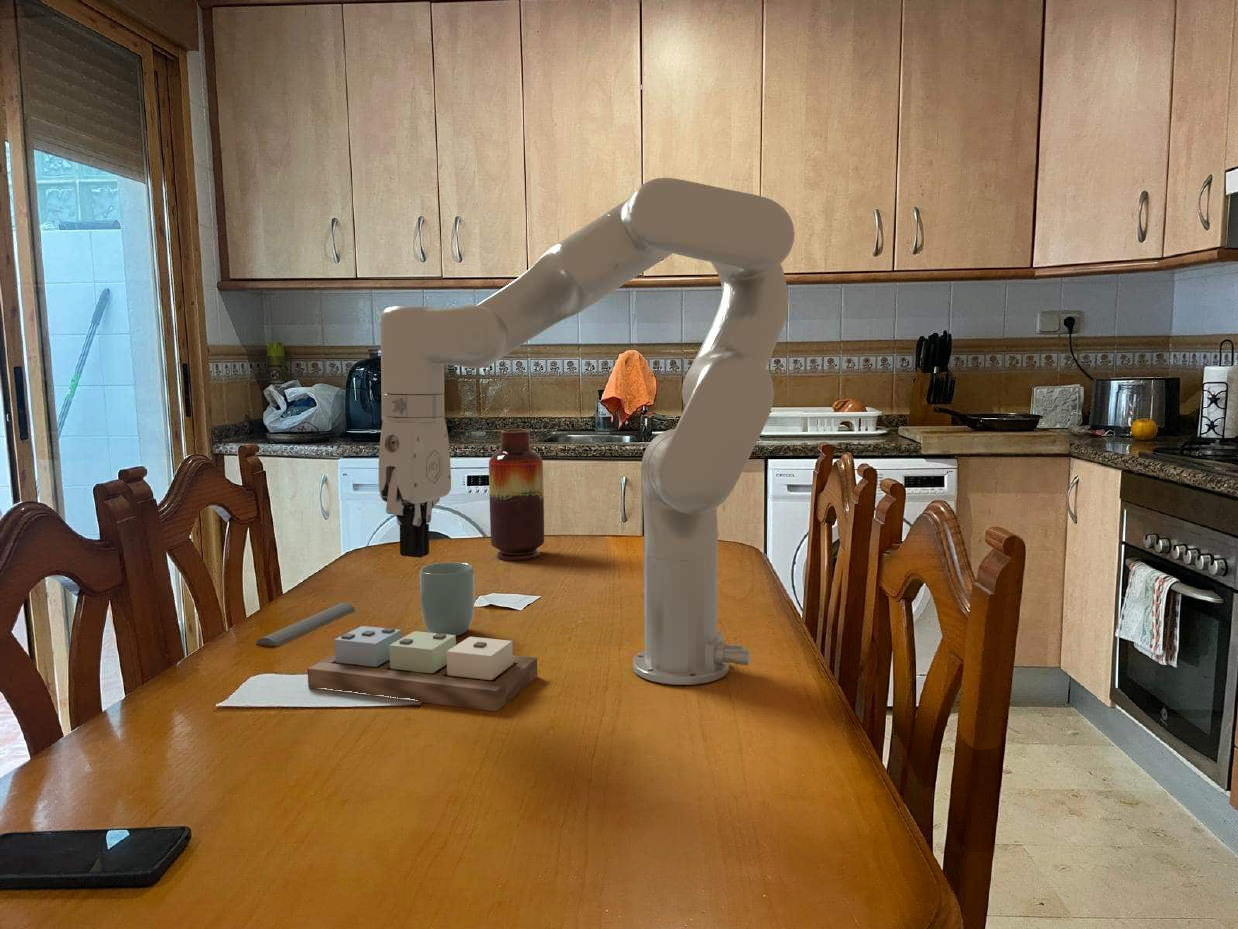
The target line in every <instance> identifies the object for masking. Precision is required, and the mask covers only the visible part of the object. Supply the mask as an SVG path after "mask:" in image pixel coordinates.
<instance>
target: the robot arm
mask: <svg viewBox="0 0 1238 929" xmlns="http://www.w3.org/2000/svg"><path fill="white" fill-rule="evenodd" d="M794 243H795V226H794V223H793V221H792V218H791V216H790V214H789V213H788V211H787V210H786V209H785V208H784V207H783V206H781V204H780V203H779V202H776V201H775V200H773V199H770V198H769V197H768V198H767V197H765V196H762V195H757V194H753V193H748V192H743V191H737V190H733V189H730V188H729V189H728V188H722V187H718V186H715V185H708V184H705V183H700V182H695V181H690V180H685V179H679V178H673V177H657V178H654V179H650V180H647V181H646V182H644V183H642V185H640V186H639V187H638V188H637V189H636V190H635V191H634V193H633V195H631V196H630V197H629V198H627V199H625V200H624V201H623V202H621V203H619V204H618V205H616V206H615V207H613V208H611V209H610V210H608V211H607V212H605V213H604V214H603V215H601V216H599V217H597V218H596V219H595V220H593V221H591V222H590V223H588V224H587V225H585V226H583V227H582V228H580V229H579V230H577V231H575V232H573V233H571V234H570V235H569V236H567V237H565V238H564V239H562V240H561V241H559V242H558V243H556V244H554V246H552V247H551V248H550V249H548V250H547V251H545V253H543V254H542V255H541V256H540V257H539V258H538V260H537V261H536V262H535V263H534V264H533V265H532V266H531V267H530V268H528V270H527V271H525V272H524V273H523V274H521V275H520V276H519V277H517V278H516V279H514V280H513V281H511V282H510V283H509V284H507V285H506V286H504V287H503V288H501V289H500V290H499V291H497V292H495V293H494V294H492V295H491V296H489V297H487V298H486V299H483V301H481V302H480V303H478V304H476V305H475V304H474V305H462V306H454V307H446V308H434V307H430V306H429V307H428V306H416V305H415V306H414V305H395V306H390V307H386V308H385V309H384V310H383V311H382V313H381V315H380V371H381V373H380V374H381V376H380V382H381V383H380V384H381V385H380V386H381V391H380V392H381V394H380V395H381V398H380V400H381V421H382V422H381V430H380V431H381V432H380V439H379V440H380V441H379V450H378V451H379V452H378V492H379V497H380V499H381V500H382V501H384V502H385V503H386V507H385V512H386V514H388V515H392V516H393V515H394V516H395V517H396V523H397V525H398V526H399V554H400V556H402V557H408V558H418V559H419V558H420V559H421V558H423V557H426V556H428V555H429V554H430V523H431V520H432V514H433V512H432V511H433V508H434V506H436V505H437V504H439V502H440V500H441V498H444V497H447V495H448V494H449V493H450V492H451V490H452V472H451V471H452V470H451V456H450V443H449V434H448V427H447V424H446V419H445V365H448V366H449V365H450V366H456V367H463V368H468V369H483V368H486V367H489V366H491V365H493V364H495V363H497V361H499V360H501V359H502V358H504V357H505V356H507V355H508V354H510V353H512V352H514V351H515V350H516V349H518V348H519V347H521V346H522V345H524V344H525V343H527V342H529V341H530V340H532V339H533V338H535V337H537V336H538V335H540V334H541V333H543V332H544V331H546V330H548V329H550V328H551V327H553V326H554V325H557V324H558V323H561V321H564V320H566V319H568V318H570V317H573V316H576V315H577V314H579V313H581V312H583V311H584V310H586V309H588V308H589V307H591V306H593V305H595V303H598V302H599V301H600V300H602V299H604V298H605V297H606V296H608V295H609V294H612V293H613V292H614V291H616V290H618V289H620V288H621V287H622V286H624V285H625V284H627V283H628V282H630V281H632V280H633V279H635V278H636V277H638V276H640V275H641V274H643V273H644V272H646V271H648V270H649V269H651V268H653V267H654V266H655V265H657V264H658V263H660V262H662V261H663V260H665V259H666V258H668V257H670V256H671V255H672V254H674V255H678V256H682V257H686V258H689V259H695V260H700V261H706V262H710V263H711V265H712V266H713V268H714V269H715V271H716V274H717V275H718V277H719V281H720V284H721V285H720V286H721V297H720V302H719V305H718V309H717V311H716V314H715V316H714V319H713V321H712V322H711V323H712V324H711V326H710V328H709V330H708V332H707V335H706V336H705V337H704V340H703V342H702V344H701V347H699V348H700V349H699V350H698V353H697V354H696V356H695V358H694V360H693V362H692V363H691V366H690V368H689V369H688V371H687V373H686V375H685V376H684V380H683V383H682V388H681V396H682V401H683V404H684V409H683V412H682V414H681V416H680V418H679V420H678V422H677V424H676V426H675V428H671V429H668V430H666V431H663V432H661V433H659V434H657V435H656V436H655V437H654V438H653V439H652V440H651V441H650V442H649V443H648V445H647V446H646V449H645V451H644V452H643V456H642V459H641V466H640V481H641V482H640V483H641V496H642V497H641V498H642V508H643V511H642V512H643V539H644V540H643V542H644V543H643V544H644V545H643V546H644V551H643V579H644V583H643V584H644V585H643V592H644V593H643V594H644V595H643V598H644V604H643V605H644V606H643V609H644V614H643V615H644V618H643V619H644V622H643V623H644V625H643V626H644V650H642V651H640V652H639V653H637V654H636V655H635V656H634V657H633V659H632V669H633V671H634V673H635V674H637V675H638V676H639V677H641V678H643V679H644V680H648V681H650V682H654V683H659V684H664V685H675V686H690V685H701V684H707V683H711V682H714V681H717V680H719V679H722V678H723V677H725V676H726V675H727V674H728V673H729V671H730V664H731V663H732V664H735V665H739V666H740V665H742V666H749V665H750V662H751V649H745V645H743V644H742V645H741V644H727V642H726V641H724V633H723V632H721V631H720V632H719V631H718V584H719V583H718V581H719V580H718V573H719V572H718V568H719V566H718V560H719V559H718V556H719V554H718V553H719V530H718V528H719V526H718V524H719V523H718V515H717V514H718V513H717V512H718V511H717V508H718V507H720V506H721V505H722V504H723V503H724V502H725V501H726V500H727V499H728V498H729V496H730V494H732V492H733V490H734V488H735V487H736V485H737V484H738V481H739V479H740V477H741V475H742V474H743V471H744V469H745V467H746V465H747V463H748V461H749V459H750V457H751V455H752V453H753V450H754V449H755V447H756V445H757V442H758V441H759V438H760V436H761V434H762V433H763V431H764V429H765V427H766V426H765V425H766V424H767V421H768V419H769V417H770V415H771V414H770V413H771V411H772V408H773V404H774V396H775V391H774V390H775V389H774V382H773V378H772V376H771V373H770V372H769V369H767V368H768V367H767V365H768V364H769V362H770V360H771V357H772V354H773V352H774V350H775V348H776V346H777V345H776V344H777V343H778V341H779V338H780V336H781V333H782V331H783V328H784V324H785V322H786V319H787V315H788V314H787V313H788V309H789V292H788V285H787V281H786V276H785V272H784V269H783V266H782V263H783V262H784V261H785V260H786V258H787V257H788V255H790V252H791V250H792V248H793V245H794Z"/></svg>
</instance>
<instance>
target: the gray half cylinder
mask: <svg viewBox="0 0 1238 929" xmlns="http://www.w3.org/2000/svg"><path fill="white" fill-rule="evenodd" d="M355 611H356V610H355V607H354V606H353V604H351V603H349V602H347V601H346V602H344V601H343V602H340V603H338V604H336V605H333V606H331V607H328V608H327V609H324V610H322V611H320V612H317V613H316V614H313V615H311V616H309V617H307V618H303V619H302V620H299V621H297V622H295V623H292V624H290V625H288V626H286V627H283V628H282V629H279V630H276V631H275V632H272V633H270V634H267V635H265V636H263V637H261V638H258V639H257V640H256V642H255V645H258V646H269V647H276V648H277V647H278V648H279V647H281V646H283V645H285V644H288V643H290V642H292V641H294V640H296V639H298V638H300V637H302V636H305V635H306V633H307V634H309V633H311V632H313V631H316V630H317V628H318V629H320V628H321V627H320V626H322V627H324V626H326V625H328V624H330V623H332V621H333V622H334V620H335V619H337V620H339V619H341V618H343V617H345V616H347V614H348V615H350V614H352V613H354V612H355ZM349 613H350V614H349ZM342 616H343V617H342ZM335 621H336V620H335ZM327 623H328V624H327ZM325 624H326V625H325ZM319 627H320V628H319ZM312 630H313V631H312Z"/></svg>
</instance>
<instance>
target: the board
mask: <svg viewBox="0 0 1238 929" xmlns="http://www.w3.org/2000/svg"><path fill="white" fill-rule="evenodd" d="M306 670H307V687H310V689H315V688H327V689H333V690H342V691H352V692H358V693H366V694H370V695H384V696H389V697H390V696H391V697H396V698H397V697H398V698H410V699H415V700H418V701H420V702H419V703H426V704H428V703H429V704H433V705H435V704H436V705H442V706H450V707H457V708H466V709H473V710H482V711H490V712H498V710H501V708H502V707H504V706H505V705H506V704H507V703H509V701H511V700H512V699H513V698H514V697H516V696H517V695H518V694H519V693H520V692H521V691H523V690H524V689H525V688H526V687H527V686H529V684H531V683H532V682H533V681H534V680H535V679H536V678H538V657H532V656H522V655H514V654H513V664H512V665H511V666H510V667H508V668H507V669H506V670H504V671H503V672H502V673H501V674H499V675H498V676H497V677H495V678H494V679H493V680H495V681H490V680H488V681H487V680H481V679H479V680H477V679H472V678H468V677H460V676H451V675H447V664H446V665H445V666H443V667H442V668H440V669H439V670H437V671H436V672H435V674H429V673H426V674H425V673H421V672H417V673H416V672H412V671H407V670H399V669H390V659H389V660H387V661H386V662H384V663H382V664H380V665H379V666H378V668H377V667H369V666H361V665H355V664H347V663H338V662H336V661H335V653H333V655H330V656H329V657H327V658H324V659H323V660H320V661H319V662H317V663H315V664H313V665H312V666H311V665H310V667H307V669H306ZM370 695H369V696H370Z"/></svg>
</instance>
